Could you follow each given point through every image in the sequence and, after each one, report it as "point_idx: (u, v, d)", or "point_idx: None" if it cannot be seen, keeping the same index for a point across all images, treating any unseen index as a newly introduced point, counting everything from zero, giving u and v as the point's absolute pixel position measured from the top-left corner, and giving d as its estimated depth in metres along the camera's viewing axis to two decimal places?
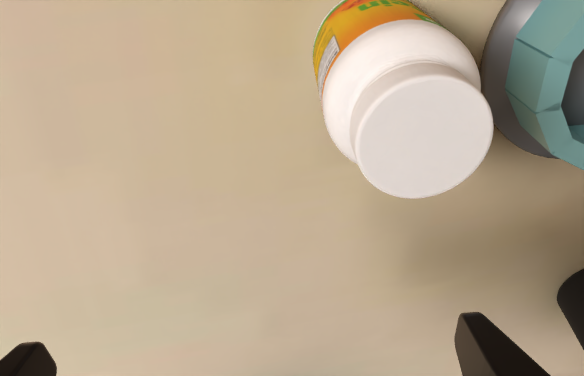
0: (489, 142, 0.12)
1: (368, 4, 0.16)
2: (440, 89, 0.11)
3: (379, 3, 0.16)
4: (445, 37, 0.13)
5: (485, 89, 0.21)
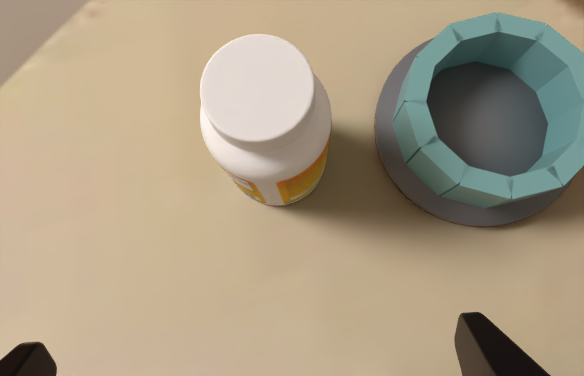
0: (311, 76, 0.14)
1: None
2: (254, 42, 0.15)
3: None
4: None
5: (389, 170, 0.23)
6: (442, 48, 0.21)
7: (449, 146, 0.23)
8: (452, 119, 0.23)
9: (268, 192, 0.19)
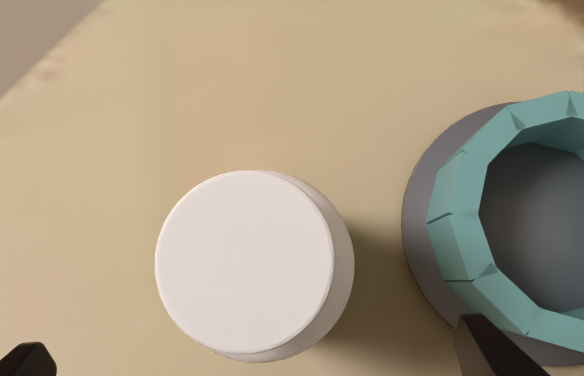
0: (329, 242, 0.09)
1: None
2: (241, 185, 0.10)
3: None
4: (278, 173, 0.12)
5: (422, 287, 0.18)
6: (497, 139, 0.16)
7: (501, 256, 0.18)
8: (503, 220, 0.18)
9: None
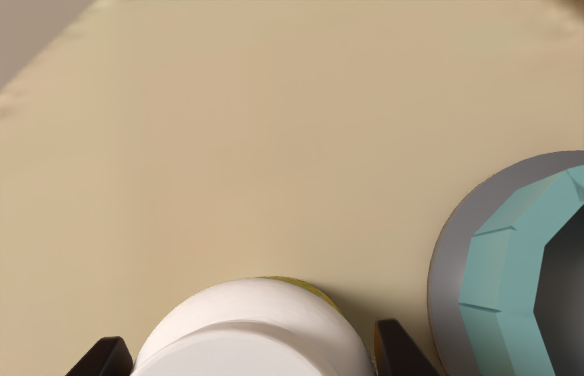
0: None
1: None
2: (221, 356, 0.06)
3: None
4: (277, 289, 0.09)
5: None
6: (555, 213, 0.12)
7: (551, 345, 0.14)
8: (553, 299, 0.15)
9: None
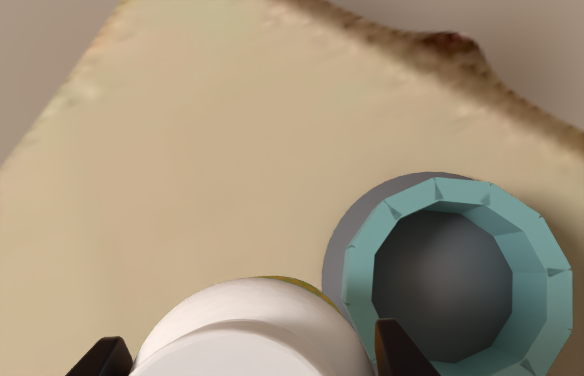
0: None
1: None
2: (221, 355, 0.06)
3: None
4: (277, 288, 0.09)
5: None
6: (379, 230, 0.18)
7: (408, 317, 0.20)
8: (407, 284, 0.20)
9: None
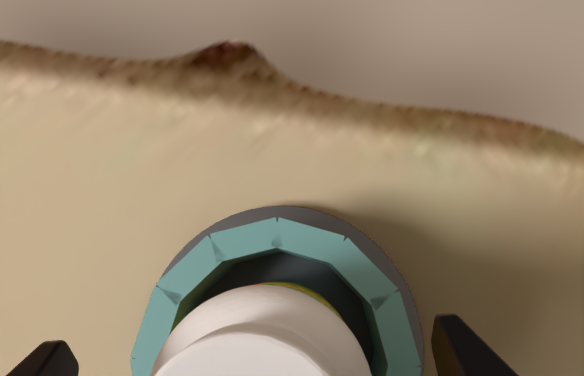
0: None
1: None
2: (236, 354, 0.07)
3: None
4: (282, 295, 0.10)
5: None
6: (160, 326, 0.14)
7: None
8: None
9: None
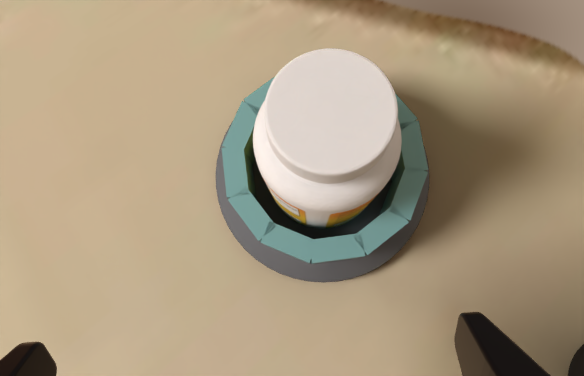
0: (395, 104, 0.12)
1: None
2: (332, 58, 0.13)
3: None
4: None
5: (253, 256, 0.22)
6: (244, 127, 0.20)
7: None
8: None
9: (316, 219, 0.17)
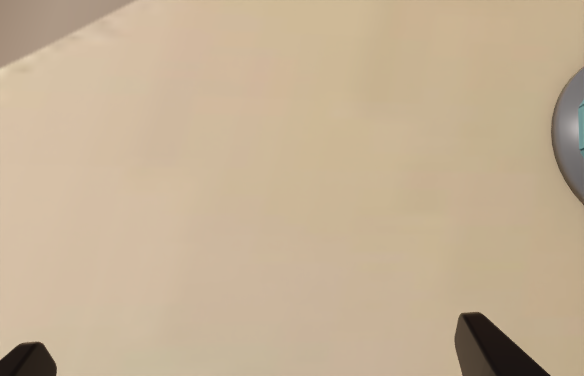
0: None
1: None
2: None
3: None
4: None
5: (560, 151, 0.23)
6: None
7: None
8: None
9: None
